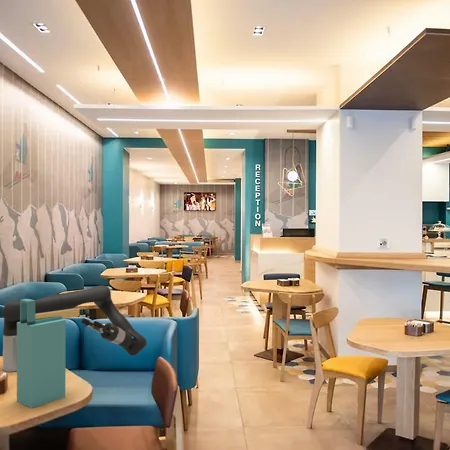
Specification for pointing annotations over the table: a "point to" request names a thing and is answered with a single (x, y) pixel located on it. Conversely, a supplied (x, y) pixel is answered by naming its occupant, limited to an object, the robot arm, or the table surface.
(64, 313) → the wooden bar
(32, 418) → the table surface
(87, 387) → the table surface
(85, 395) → the table surface
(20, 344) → the teal brick phone
